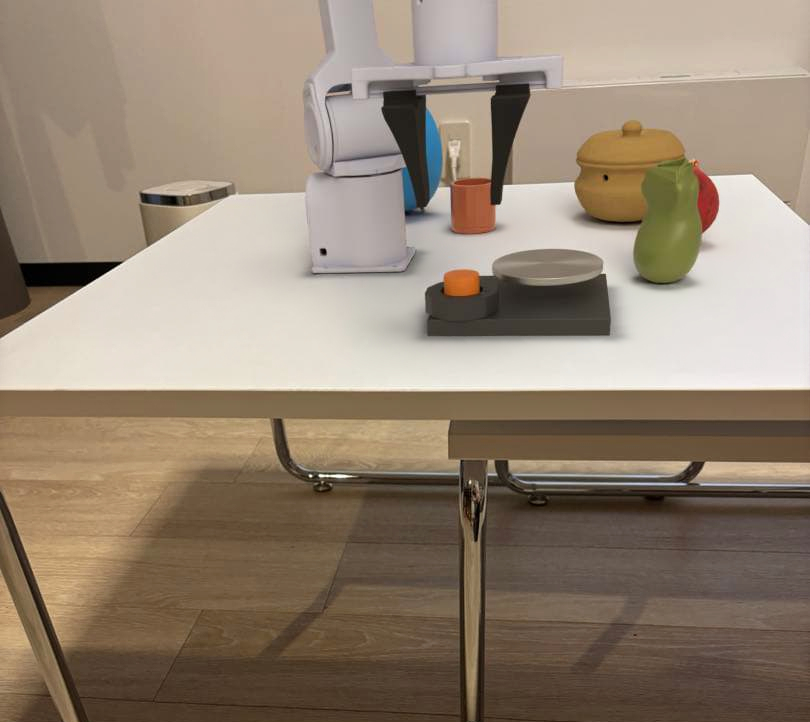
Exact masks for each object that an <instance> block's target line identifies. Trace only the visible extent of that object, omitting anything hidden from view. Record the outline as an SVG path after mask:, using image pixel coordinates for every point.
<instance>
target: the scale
mask: <svg viewBox="0 0 810 722" xmlns="http://www.w3.org/2000/svg"><path fill="white" fill-rule="evenodd" d="M479 285H480V293H477V294H473V295H468V296H450V295H445V294H444V281H440V282H437V283H435V284H433V285H432V284H431V285H430V286H428V287H427V288H426V290H425V292H424V304H425V313H426V314H427V315H428V316H427V320H426V326H427V327H426V328H427V329H426V330H427V337H559V336H560V337H565V336H566V337H572V336H573V337H581V336H582V337H583V336H586V337H590V336H591V337H592V336H596V337H597V336H603V337H604V336H607V337H609V336H610V335H611V325H612V324H611V323H612V322H611V321H612V316H611V307H610V300H609V299H610V297H609V289H608V280H607V274H606V273H600V274H599V275H598V276H596V277H594V278H592V279H589V280H586V281H583V282H578V283H573V284H567V285H557V286H529V285H519V284H513V283H509V282H505V281H502V280H500V279H498V278H496V277H495V276H494V275H493V274H492V275H479Z"/></svg>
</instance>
